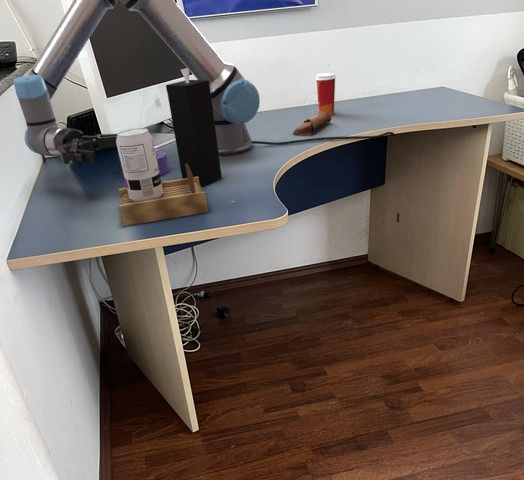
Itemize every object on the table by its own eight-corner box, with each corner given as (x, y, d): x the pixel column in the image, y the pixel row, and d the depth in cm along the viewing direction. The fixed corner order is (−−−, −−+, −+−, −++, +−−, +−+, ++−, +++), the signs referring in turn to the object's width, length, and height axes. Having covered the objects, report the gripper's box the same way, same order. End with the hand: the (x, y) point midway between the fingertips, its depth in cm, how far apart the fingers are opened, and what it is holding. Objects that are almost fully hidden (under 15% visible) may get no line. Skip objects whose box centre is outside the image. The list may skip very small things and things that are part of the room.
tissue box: (202, 175, 151) (185, 65, 135) (222, 178, 146) (207, 65, 130) (182, 183, 146) (162, 70, 130) (202, 186, 141) (184, 70, 126)
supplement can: (123, 199, 127) (107, 134, 118) (151, 190, 131) (138, 126, 123) (141, 205, 122) (126, 138, 113) (170, 195, 126) (158, 129, 118)
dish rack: (201, 194, 136) (195, 160, 131) (208, 212, 124) (202, 174, 120) (123, 207, 133) (114, 172, 128) (123, 226, 122) (114, 188, 117)
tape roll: (176, 167, 160) (173, 150, 157) (155, 179, 151) (152, 161, 149) (143, 166, 164) (140, 150, 162) (122, 178, 156) (117, 161, 153)
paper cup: (326, 111, 209) (325, 72, 201) (340, 113, 203) (340, 73, 196) (312, 115, 205) (310, 75, 197) (326, 117, 200) (325, 76, 192)
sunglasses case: (309, 121, 194) (318, 104, 189) (325, 131, 194) (334, 115, 189) (291, 133, 181) (299, 115, 176) (308, 144, 181) (317, 127, 176)
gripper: (109, 146, 146) (160, 153, 135) (29, 171, 131) (78, 181, 119) (102, 117, 142) (154, 121, 130) (18, 140, 127) (68, 147, 115)
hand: (118, 150), depth 125 cm, fingers open, 13 cm apart
